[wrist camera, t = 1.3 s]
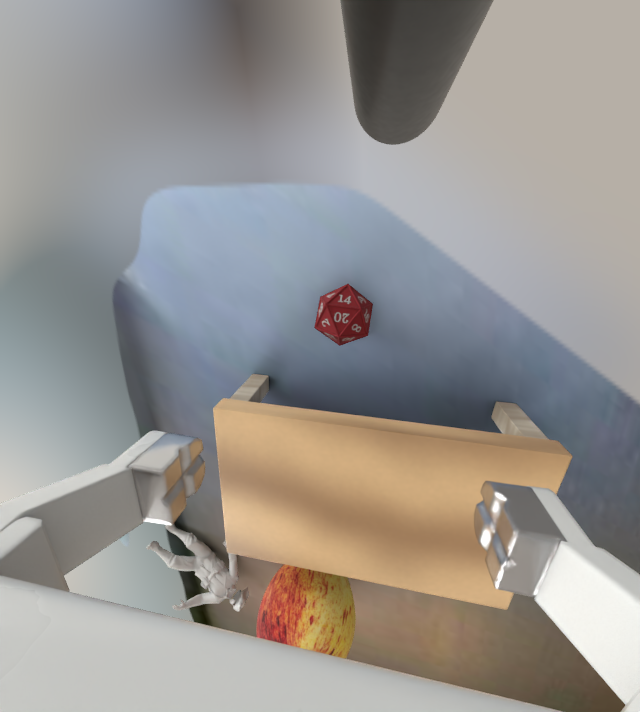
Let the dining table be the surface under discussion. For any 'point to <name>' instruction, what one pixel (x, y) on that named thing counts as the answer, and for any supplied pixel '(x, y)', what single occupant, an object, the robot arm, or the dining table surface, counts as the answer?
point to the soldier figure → (204, 571)
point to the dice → (344, 315)
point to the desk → (371, 491)
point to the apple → (308, 611)
